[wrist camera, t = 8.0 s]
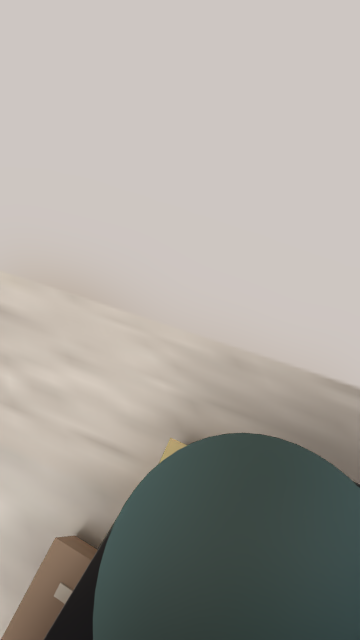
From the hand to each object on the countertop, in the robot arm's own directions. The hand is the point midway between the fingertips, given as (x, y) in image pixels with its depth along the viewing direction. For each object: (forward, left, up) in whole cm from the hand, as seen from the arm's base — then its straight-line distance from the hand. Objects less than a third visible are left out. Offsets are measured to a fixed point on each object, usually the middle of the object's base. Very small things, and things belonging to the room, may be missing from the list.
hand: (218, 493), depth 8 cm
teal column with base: (-1, +1, -7) cm, 7 cm away
